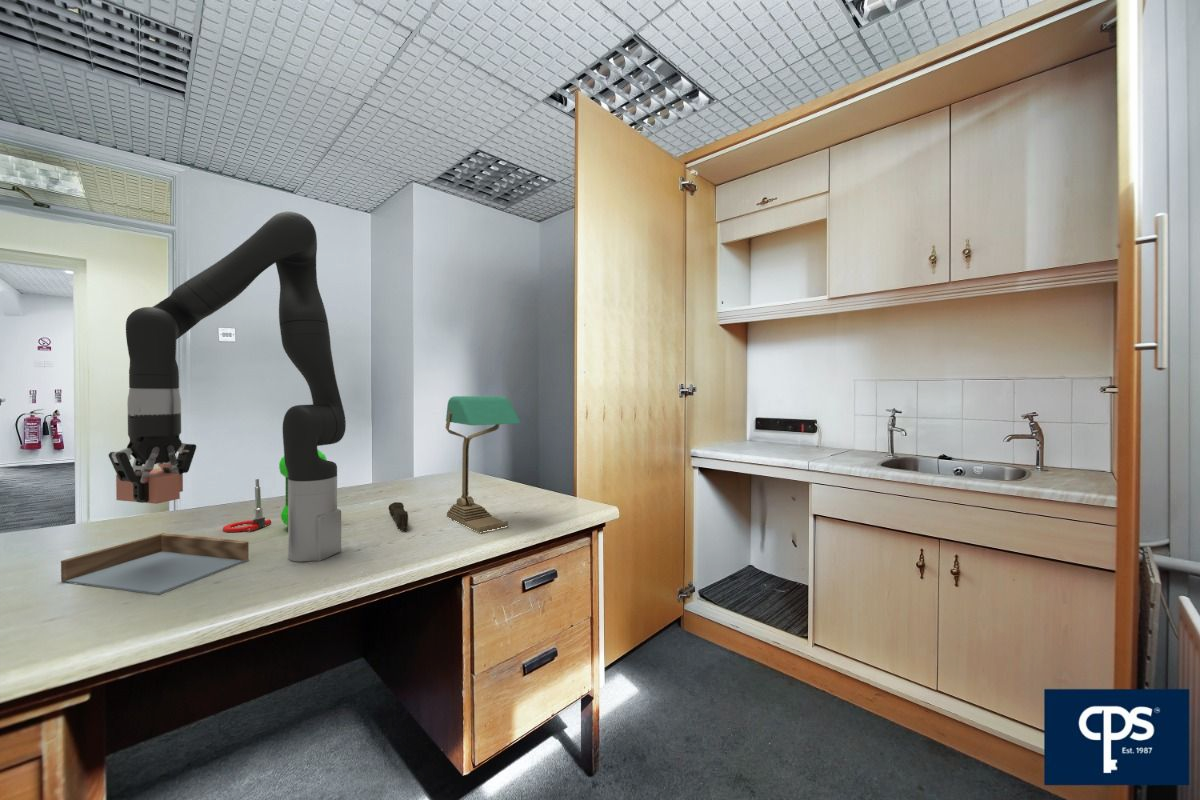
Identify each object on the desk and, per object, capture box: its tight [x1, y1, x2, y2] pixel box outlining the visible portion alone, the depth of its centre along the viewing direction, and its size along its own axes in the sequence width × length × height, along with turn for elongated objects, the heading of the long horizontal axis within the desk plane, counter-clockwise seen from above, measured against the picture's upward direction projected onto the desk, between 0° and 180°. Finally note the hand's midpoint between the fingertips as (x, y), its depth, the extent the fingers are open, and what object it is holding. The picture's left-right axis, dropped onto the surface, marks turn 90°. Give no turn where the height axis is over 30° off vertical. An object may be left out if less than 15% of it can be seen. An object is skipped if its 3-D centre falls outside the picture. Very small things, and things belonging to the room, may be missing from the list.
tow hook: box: [222, 478, 272, 533], centre depth 121 cm, size 8×13×9 cm
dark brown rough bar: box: [388, 501, 409, 532], centre depth 127 cm, size 19×4×5 cm, turn 27°
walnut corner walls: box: [60, 532, 250, 583], centre depth 93 cm, size 23×17×4 cm
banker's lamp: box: [445, 395, 522, 534], centre depth 128 cm, size 16×21×35 cm
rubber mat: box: [60, 551, 249, 596], centre depth 93 cm, size 23×17×1 cm
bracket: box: [115, 467, 184, 505], centre depth 94 cm, size 9×10×5 cm
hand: (156, 498), depth 91 cm, fingers closed on bracket, 4 cm apart
